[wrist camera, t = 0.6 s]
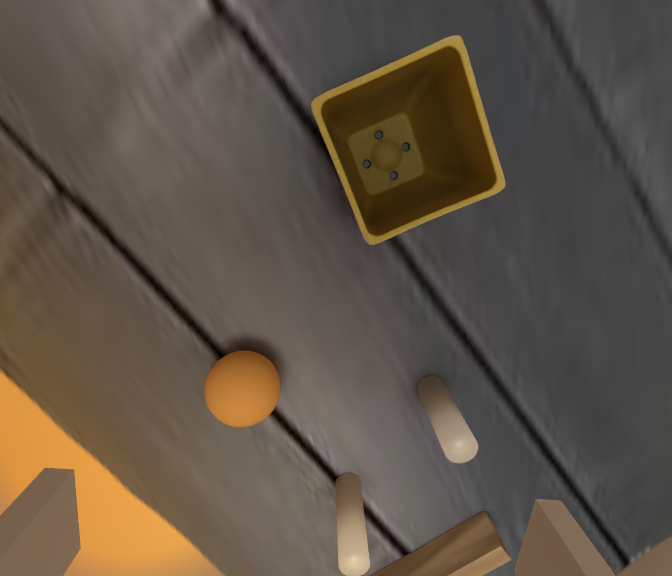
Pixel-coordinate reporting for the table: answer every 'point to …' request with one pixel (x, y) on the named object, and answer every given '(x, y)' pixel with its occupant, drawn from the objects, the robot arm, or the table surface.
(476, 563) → the back wall
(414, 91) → the flower pot
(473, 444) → the beige tapered peg
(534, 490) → the table surface
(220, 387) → the ball
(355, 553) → the cream pin
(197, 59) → the table surface
